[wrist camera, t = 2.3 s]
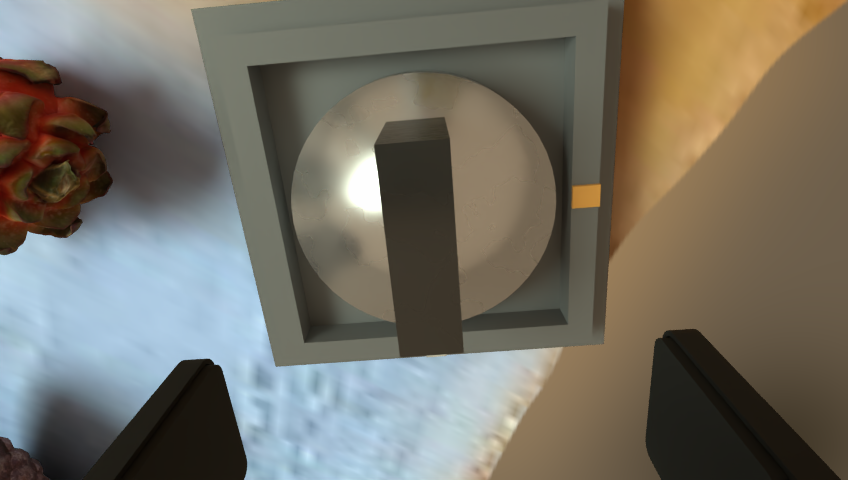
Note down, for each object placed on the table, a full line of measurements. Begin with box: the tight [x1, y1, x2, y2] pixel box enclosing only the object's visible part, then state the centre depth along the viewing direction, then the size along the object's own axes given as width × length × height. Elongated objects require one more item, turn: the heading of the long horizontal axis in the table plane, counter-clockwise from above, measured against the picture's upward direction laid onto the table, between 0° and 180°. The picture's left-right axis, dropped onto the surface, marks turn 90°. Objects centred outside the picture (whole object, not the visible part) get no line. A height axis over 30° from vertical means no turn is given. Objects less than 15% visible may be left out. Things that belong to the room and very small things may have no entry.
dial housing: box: [191, 0, 624, 367], centre depth 23 cm, size 18×18×3 cm
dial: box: [291, 70, 556, 357], centre depth 20 cm, size 12×12×7 cm
